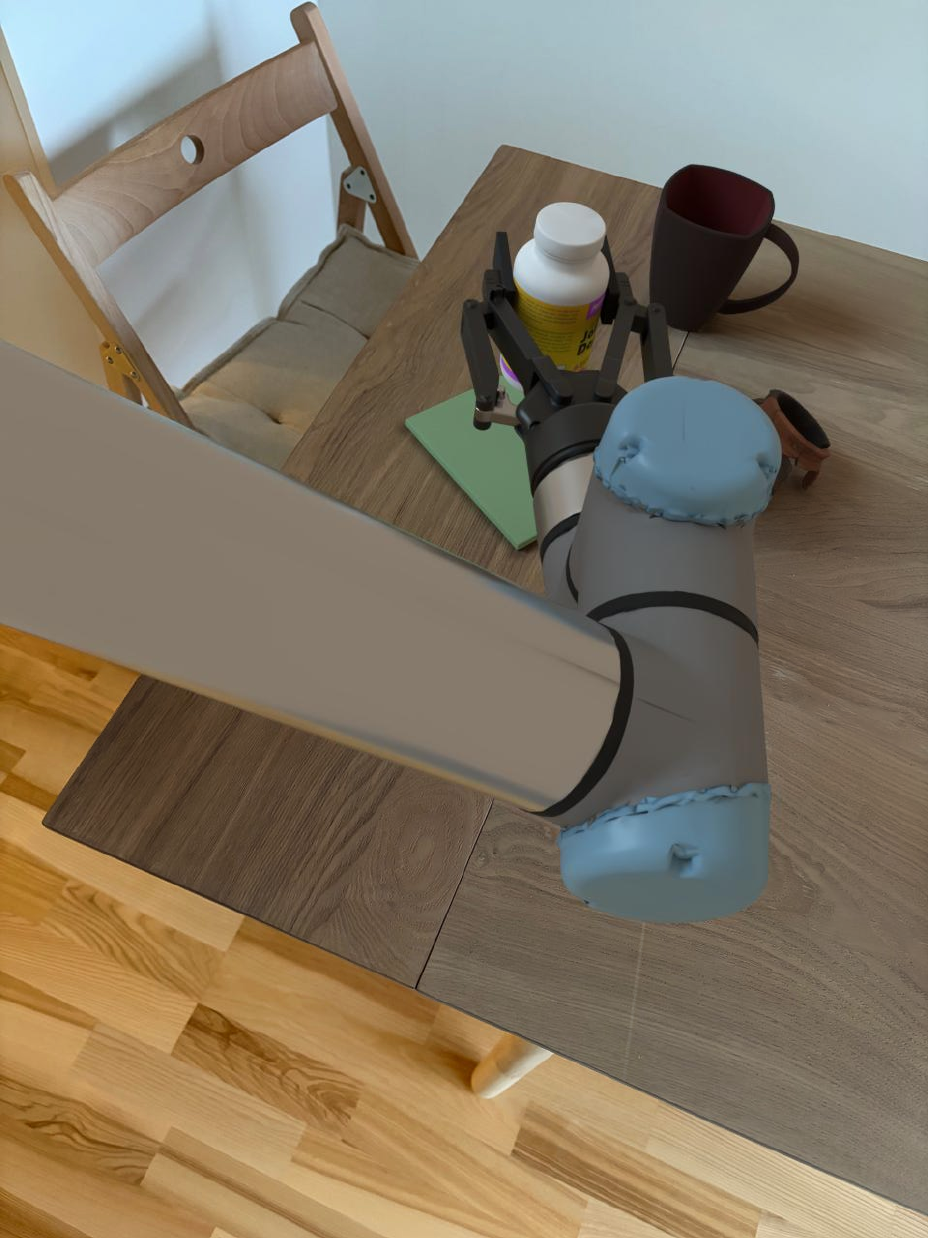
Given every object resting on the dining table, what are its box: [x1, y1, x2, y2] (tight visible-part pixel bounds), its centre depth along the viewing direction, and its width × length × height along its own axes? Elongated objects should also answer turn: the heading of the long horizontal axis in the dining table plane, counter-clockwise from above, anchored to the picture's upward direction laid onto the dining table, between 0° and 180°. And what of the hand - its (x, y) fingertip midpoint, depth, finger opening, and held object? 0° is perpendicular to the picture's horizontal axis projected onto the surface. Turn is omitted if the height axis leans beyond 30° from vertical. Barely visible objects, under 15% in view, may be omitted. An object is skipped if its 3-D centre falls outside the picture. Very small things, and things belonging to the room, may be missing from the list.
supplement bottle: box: [499, 201, 609, 393], centre depth 67 cm, size 7×7×13 cm
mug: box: [648, 163, 800, 333], centre depth 88 cm, size 10×14×12 cm
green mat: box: [404, 374, 538, 551], centre depth 81 cm, size 16×14×1 cm
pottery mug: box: [750, 388, 831, 498], centre depth 79 cm, size 12×10×8 cm
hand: (548, 249), depth 69 cm, fingers closed on supplement bottle, 7 cm apart
